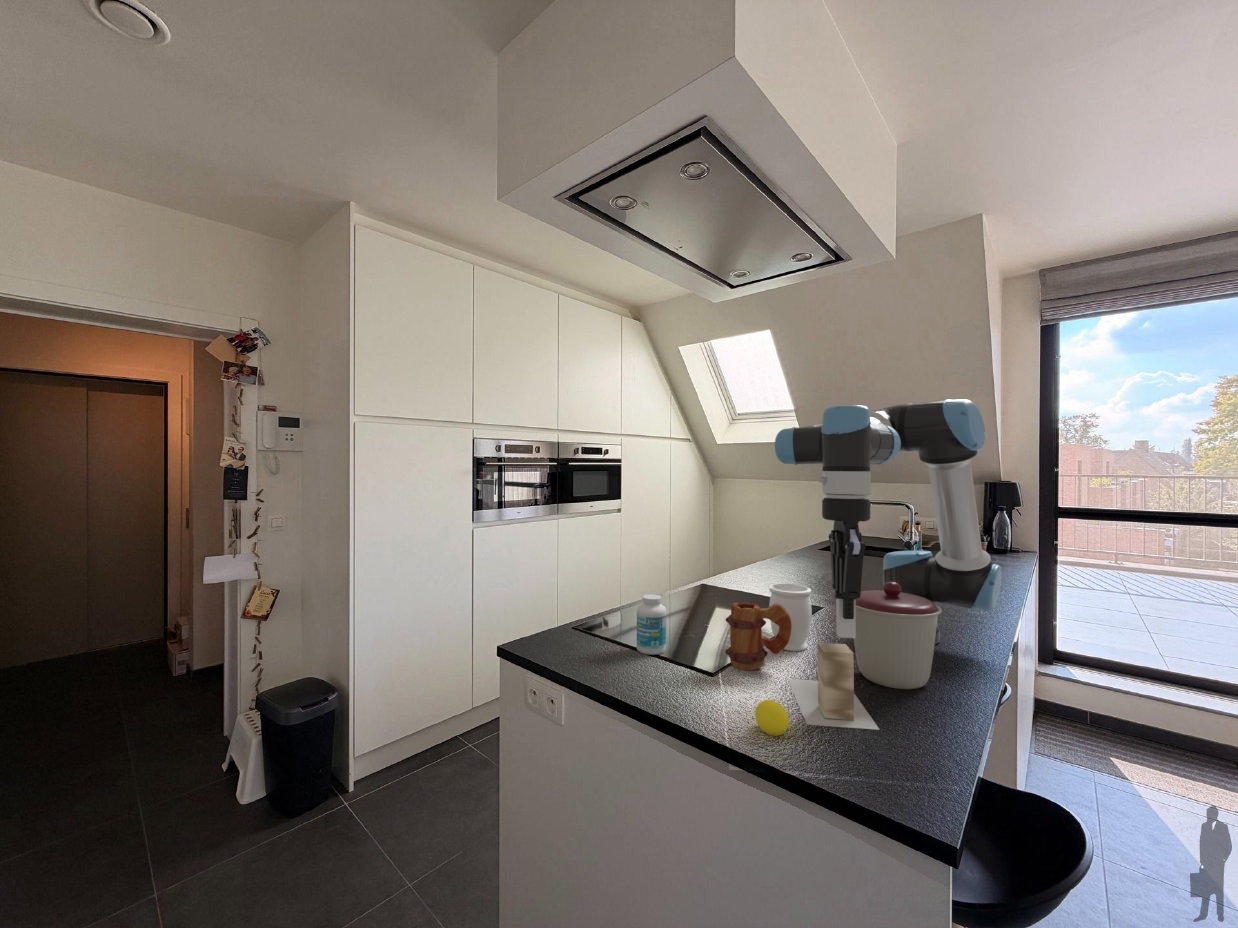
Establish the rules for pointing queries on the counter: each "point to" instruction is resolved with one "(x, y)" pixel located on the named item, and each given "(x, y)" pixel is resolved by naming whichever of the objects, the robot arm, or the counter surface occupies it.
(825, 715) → the block
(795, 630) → the jar
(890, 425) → the robot arm
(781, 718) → the lemon
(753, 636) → the mug
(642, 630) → the pill bottle
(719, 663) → the counter surface
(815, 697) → the mat
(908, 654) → the canister
